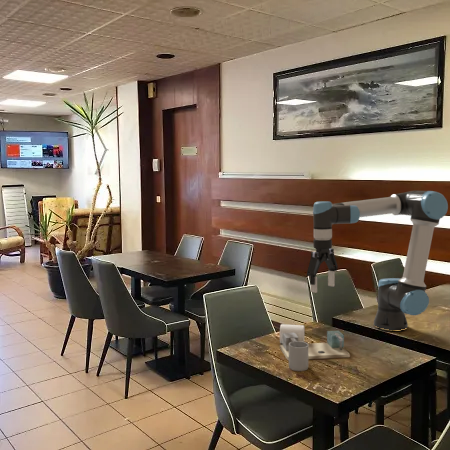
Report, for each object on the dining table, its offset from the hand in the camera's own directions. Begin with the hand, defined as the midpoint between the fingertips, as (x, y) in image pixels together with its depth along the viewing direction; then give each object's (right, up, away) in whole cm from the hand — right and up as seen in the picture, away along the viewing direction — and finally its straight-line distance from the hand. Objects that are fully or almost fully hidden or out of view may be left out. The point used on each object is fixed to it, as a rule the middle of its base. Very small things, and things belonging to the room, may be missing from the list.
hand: (322, 289), depth 204 cm
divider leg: (+5, -23, -5) cm, 24 cm away
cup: (-14, -26, -21) cm, 37 cm away
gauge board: (-5, -25, -7) cm, 26 cm away
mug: (-12, -24, +6) cm, 27 cm away
